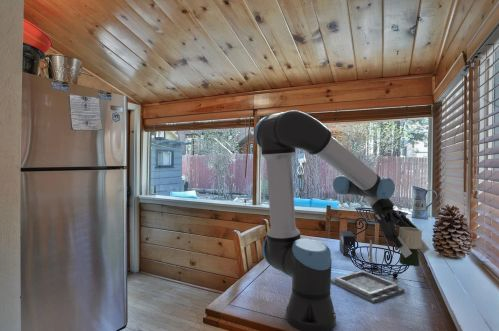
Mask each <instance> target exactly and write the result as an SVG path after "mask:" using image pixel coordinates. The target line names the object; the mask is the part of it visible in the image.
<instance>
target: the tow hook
mask: <svg viewBox="0 0 499 331" xmlns="http://www.w3.org/2000/svg"><path fill="white" fill-rule="evenodd" d="M372 241H373V240H372V239H370V240H369V252H368V253H369V255H368V261H369V262H371V263H376V262H375V261H373V244H372V243H373V242H372Z"/></svg>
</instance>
